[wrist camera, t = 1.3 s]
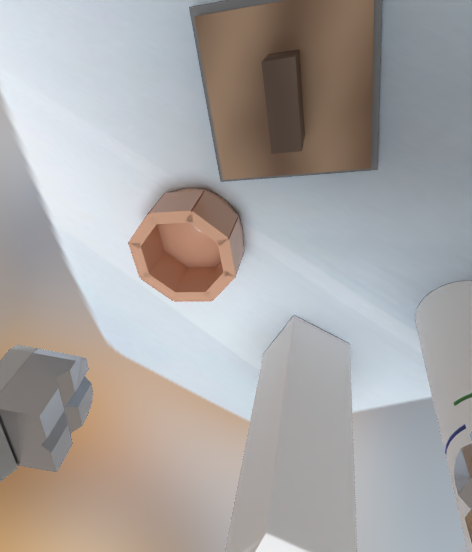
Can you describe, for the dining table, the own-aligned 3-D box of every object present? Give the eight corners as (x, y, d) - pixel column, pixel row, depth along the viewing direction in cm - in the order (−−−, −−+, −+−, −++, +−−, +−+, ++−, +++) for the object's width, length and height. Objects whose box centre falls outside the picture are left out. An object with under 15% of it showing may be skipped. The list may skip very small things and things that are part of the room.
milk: (293, 314, 38) (256, 599, 21) (351, 343, 39) (363, 646, 21) (262, 354, 42) (207, 627, 24) (315, 380, 43) (300, 666, 25)
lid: (373, -16, 23) (379, -15, 20) (369, 163, 29) (374, 186, 25) (198, 15, 26) (178, 20, 22) (226, 174, 31) (213, 197, 28)
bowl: (236, 182, 32) (223, 208, 29) (250, 268, 37) (240, 301, 33) (142, 189, 34) (119, 214, 31) (165, 270, 38) (147, 301, 35)
